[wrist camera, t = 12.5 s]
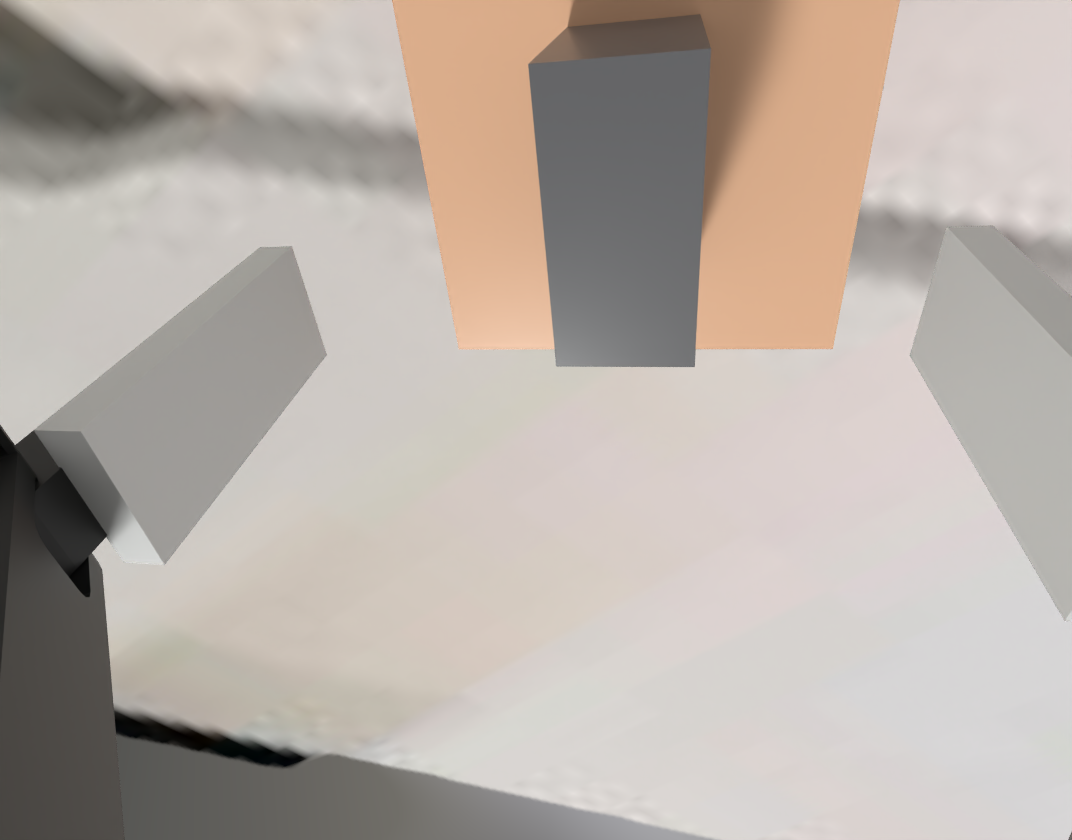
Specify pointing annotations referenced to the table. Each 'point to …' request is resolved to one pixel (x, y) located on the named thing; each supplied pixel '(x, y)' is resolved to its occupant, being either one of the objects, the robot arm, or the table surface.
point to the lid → (645, 168)
